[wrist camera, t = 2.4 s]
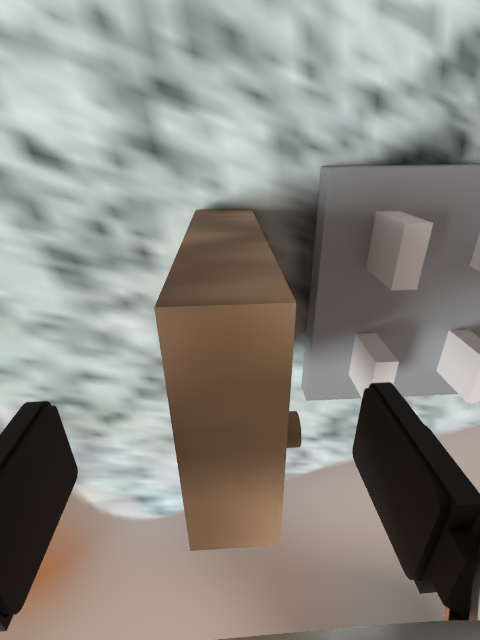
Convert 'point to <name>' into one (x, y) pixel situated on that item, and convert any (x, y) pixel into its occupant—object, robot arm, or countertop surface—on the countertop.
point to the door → (229, 379)
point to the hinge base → (395, 282)
